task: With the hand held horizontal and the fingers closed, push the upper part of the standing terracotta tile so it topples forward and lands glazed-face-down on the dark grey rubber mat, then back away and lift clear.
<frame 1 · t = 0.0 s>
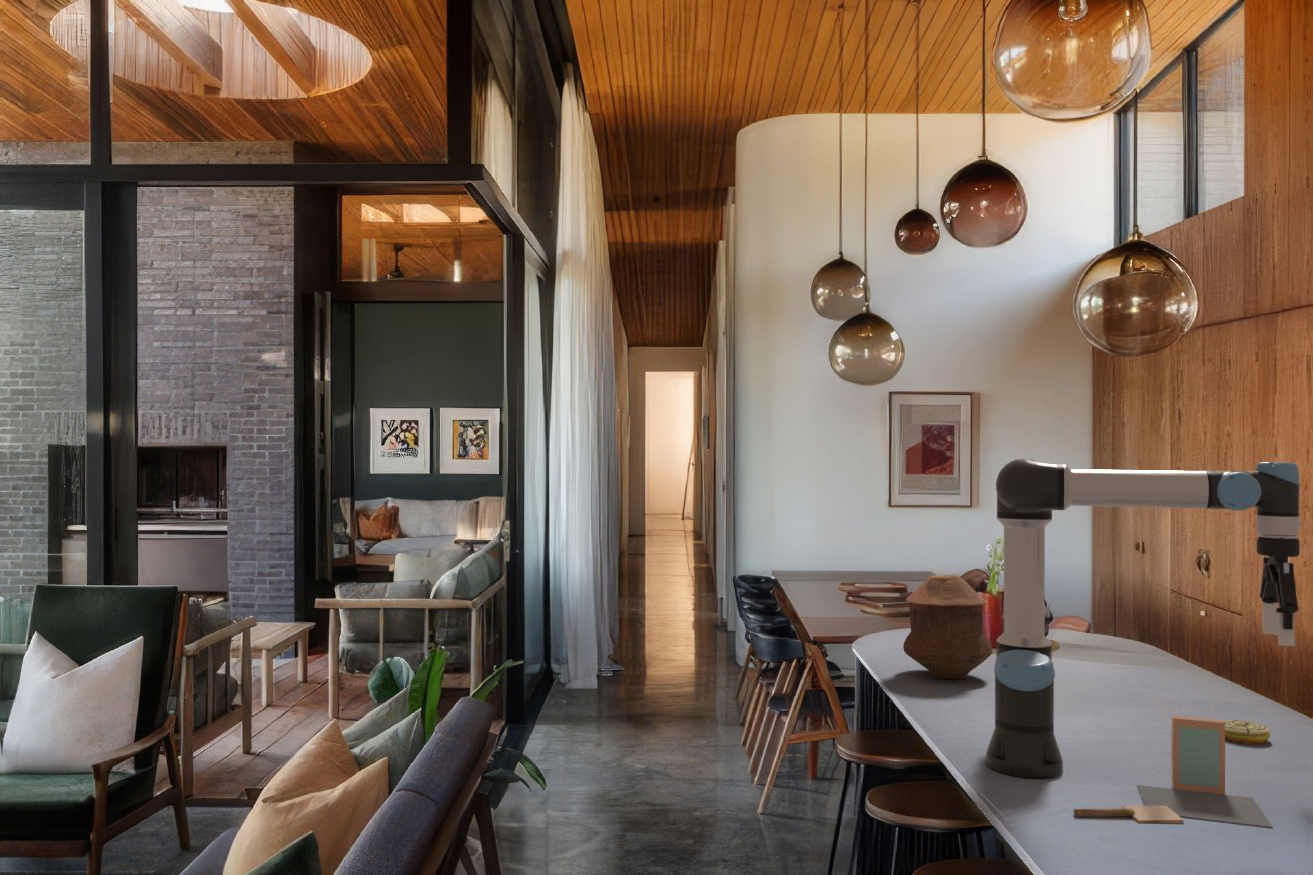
hand: (1278, 639, 204), 28 cm above the kitchen island, tool pointing down, fingers open, 13 cm apart
mat: (1200, 806, 185), on the kitchen island
wooden turner: (1130, 816, 180), on the kitchen island, touching mat
pottery vessel: (947, 676, 294), on the kitchen island
decorated donut: (1242, 740, 231), on the kitchen island
tile: (1197, 790, 194), on the kitchen island
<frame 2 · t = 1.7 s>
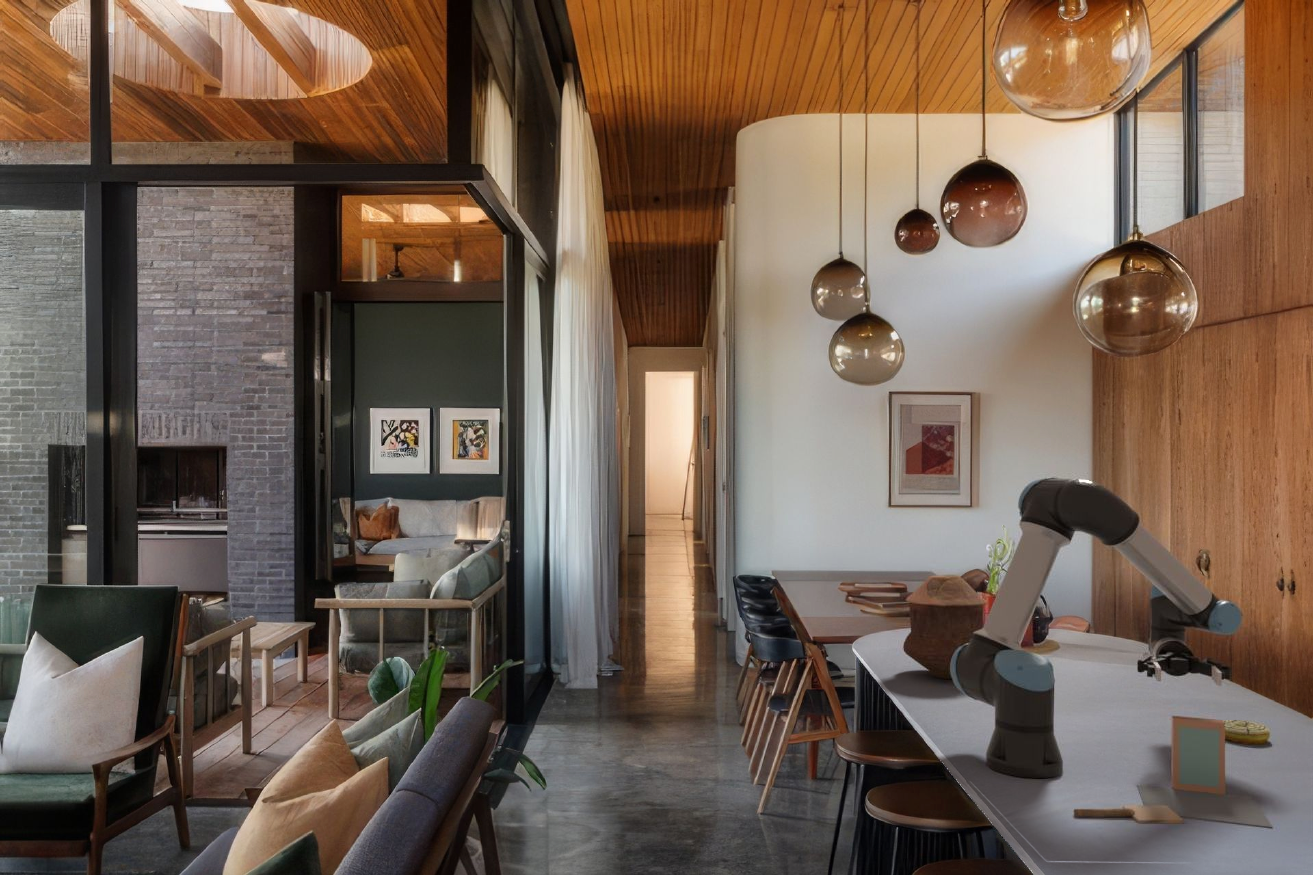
hand: (1189, 676, 205), 20 cm above the kitchen island, tool horizontal, fingers open, 10 cm apart
nothing on the kitchen island moved.
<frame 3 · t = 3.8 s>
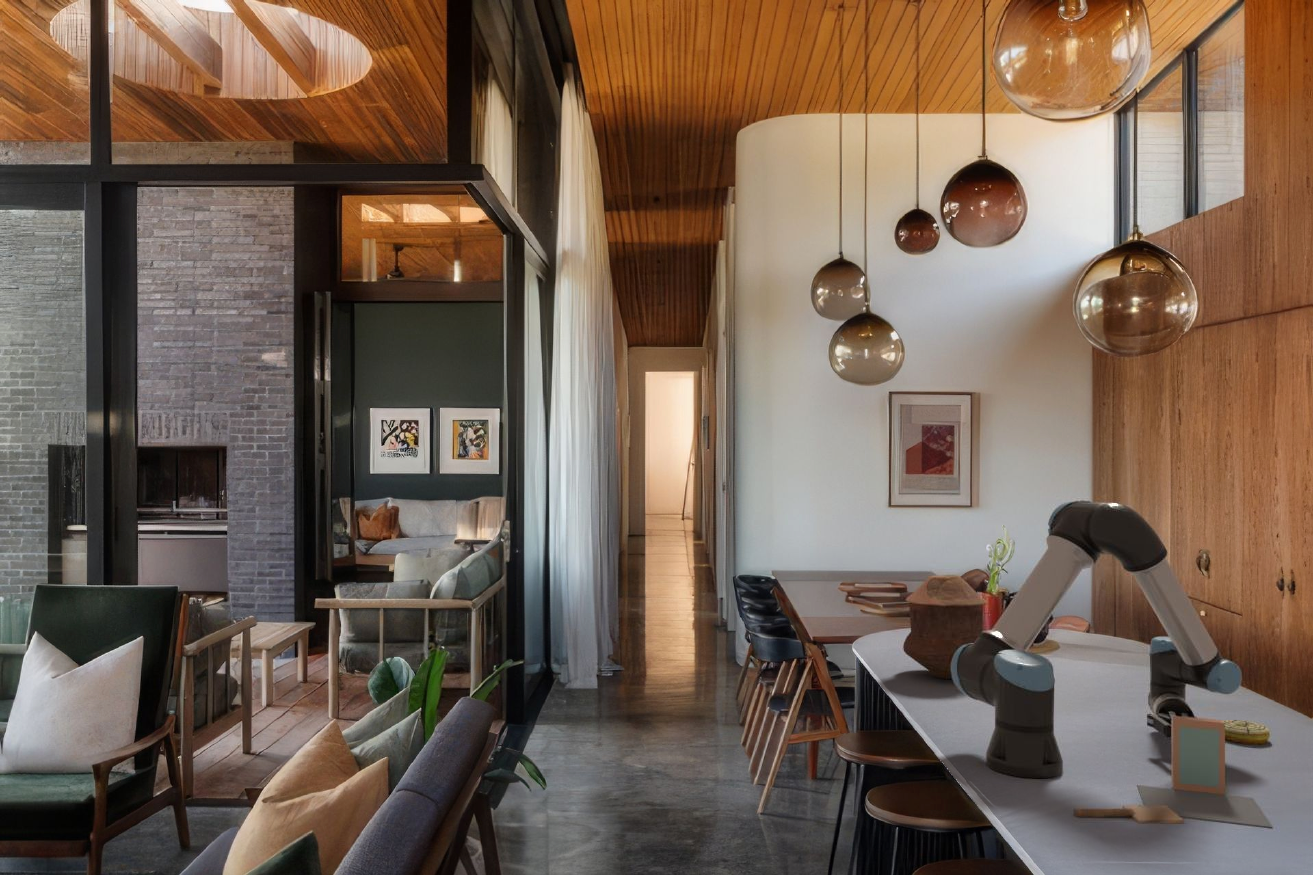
hand: (1190, 742, 203), 7 cm above the kitchen island, tool horizontal, fingers closed
nothing on the kitchen island moved.
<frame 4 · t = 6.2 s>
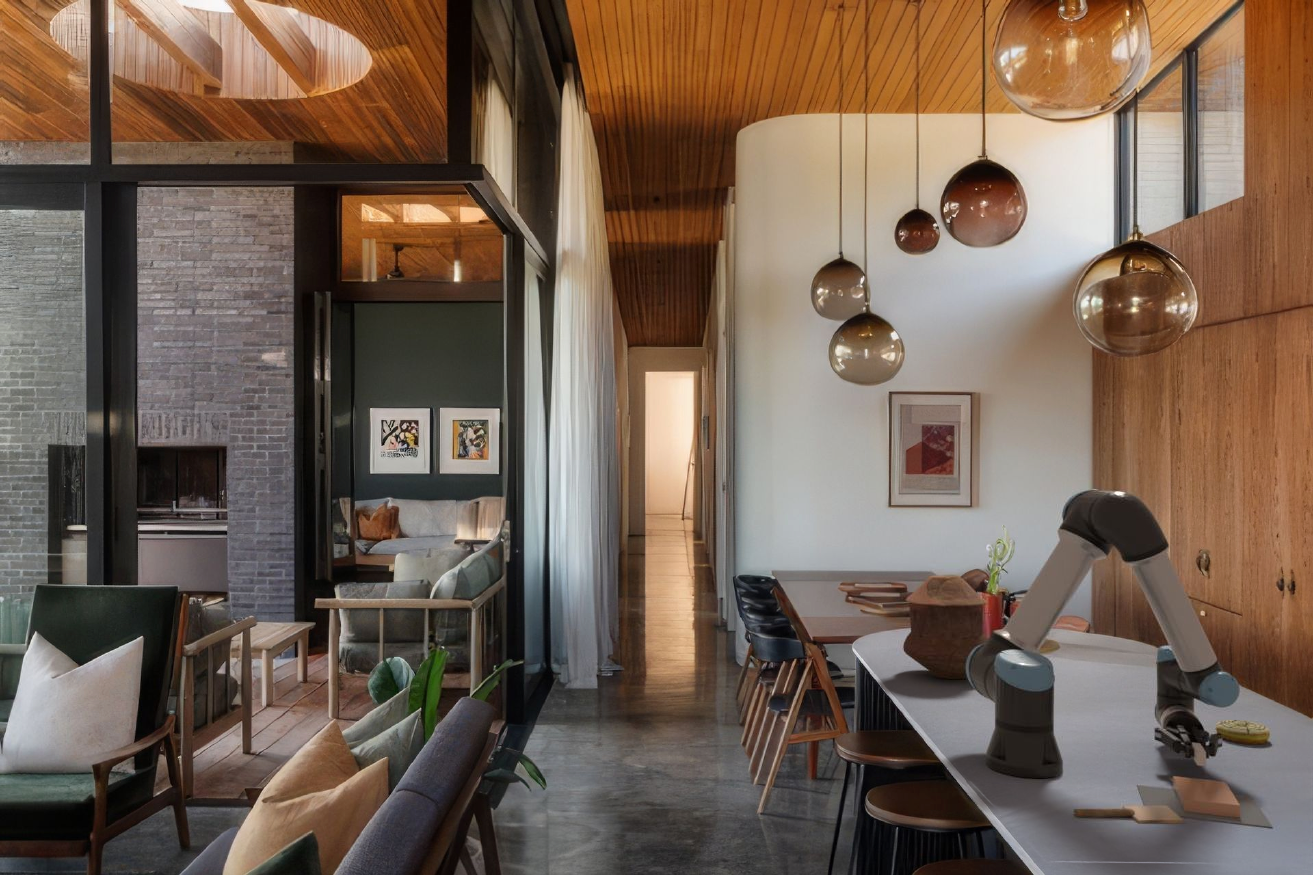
hand: (1201, 758, 192), 7 cm above the kitchen island, tool horizontal, fingers closed
tile: (1198, 784, 193), point 2 cm above the kitchen island, tilted 90°, touching mat
everything else where it was.
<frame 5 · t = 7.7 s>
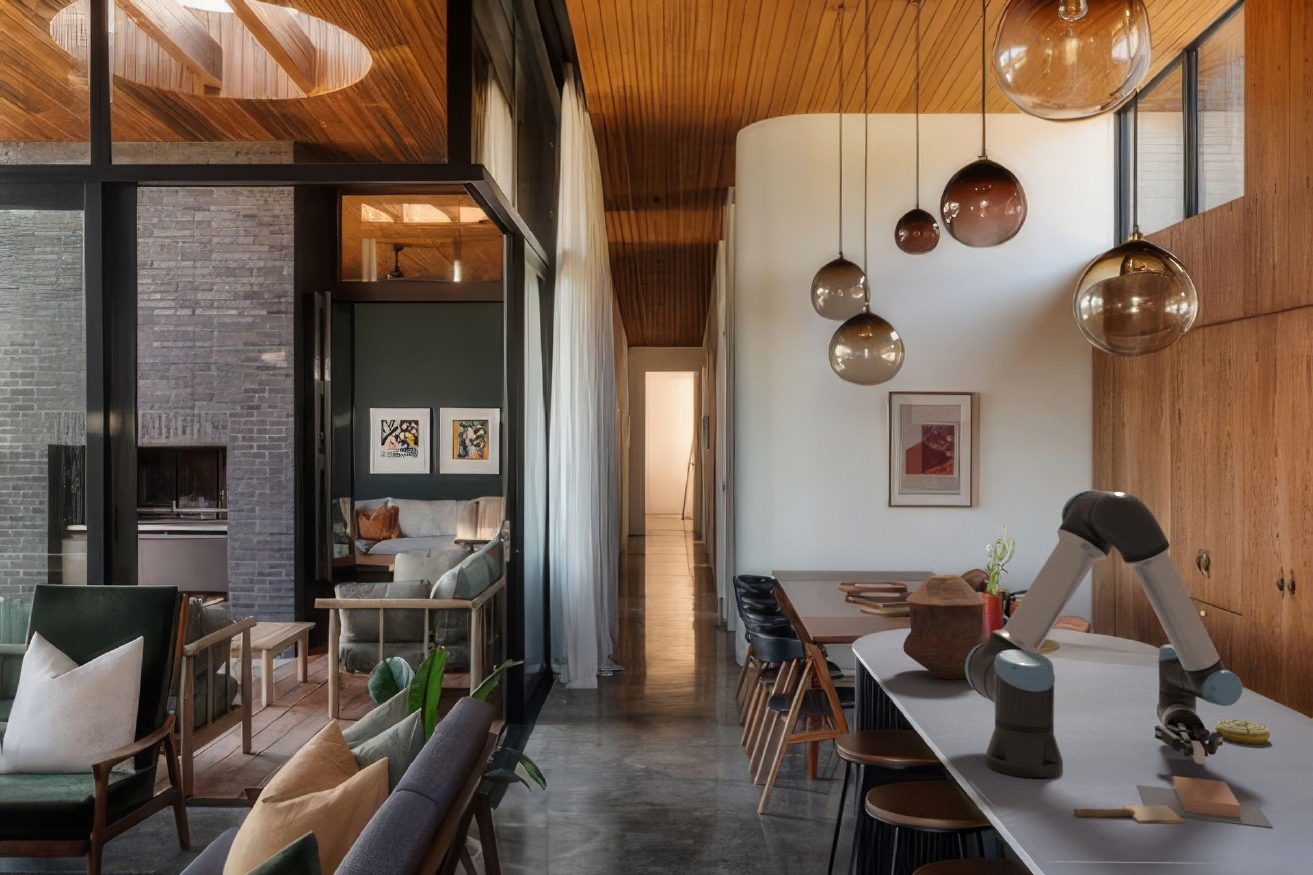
hand: (1200, 756, 193), 7 cm above the kitchen island, tool horizontal, fingers closed
nothing on the kitchen island moved.
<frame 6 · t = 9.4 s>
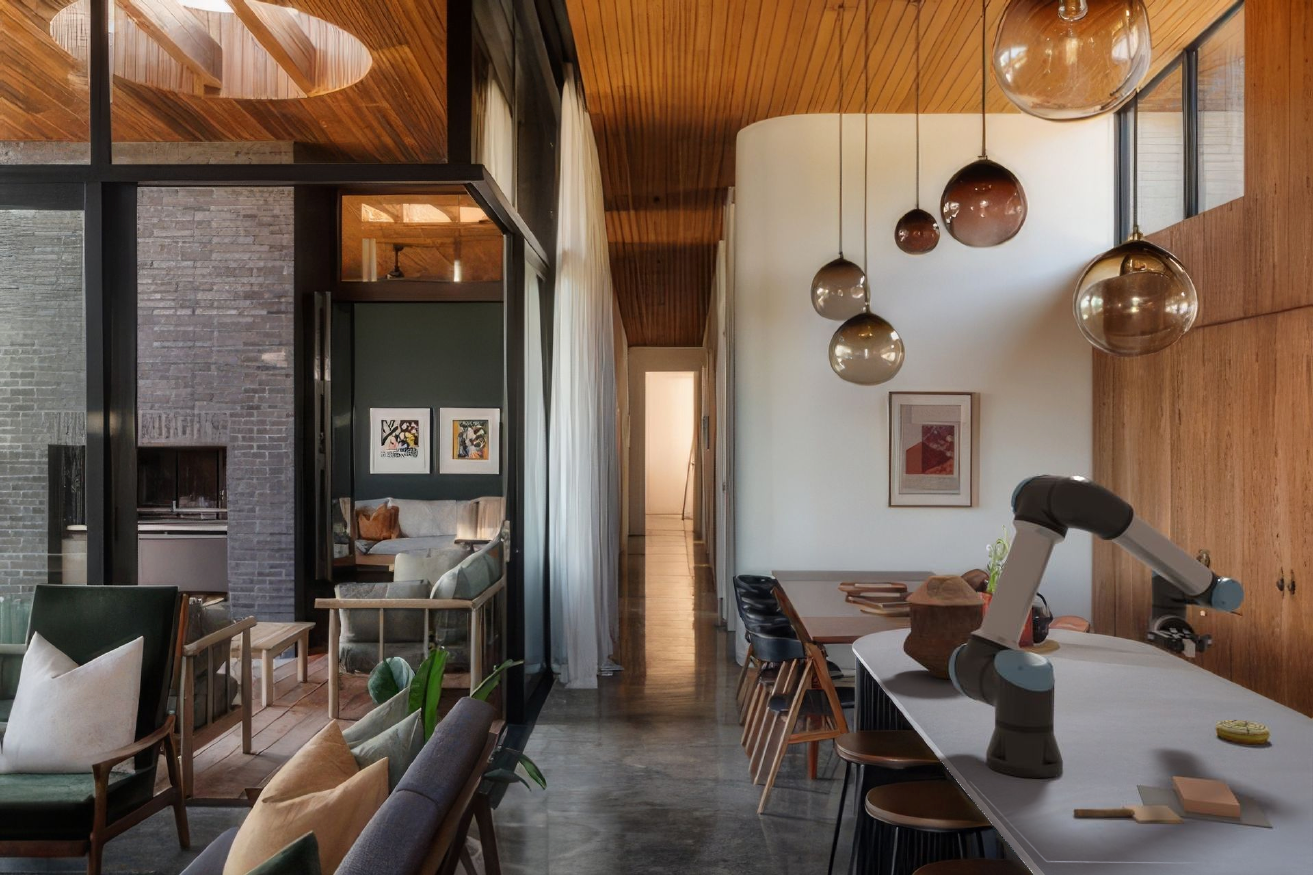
hand: (1191, 650, 205), 25 cm above the kitchen island, tool horizontal, fingers closed
nothing on the kitchen island moved.
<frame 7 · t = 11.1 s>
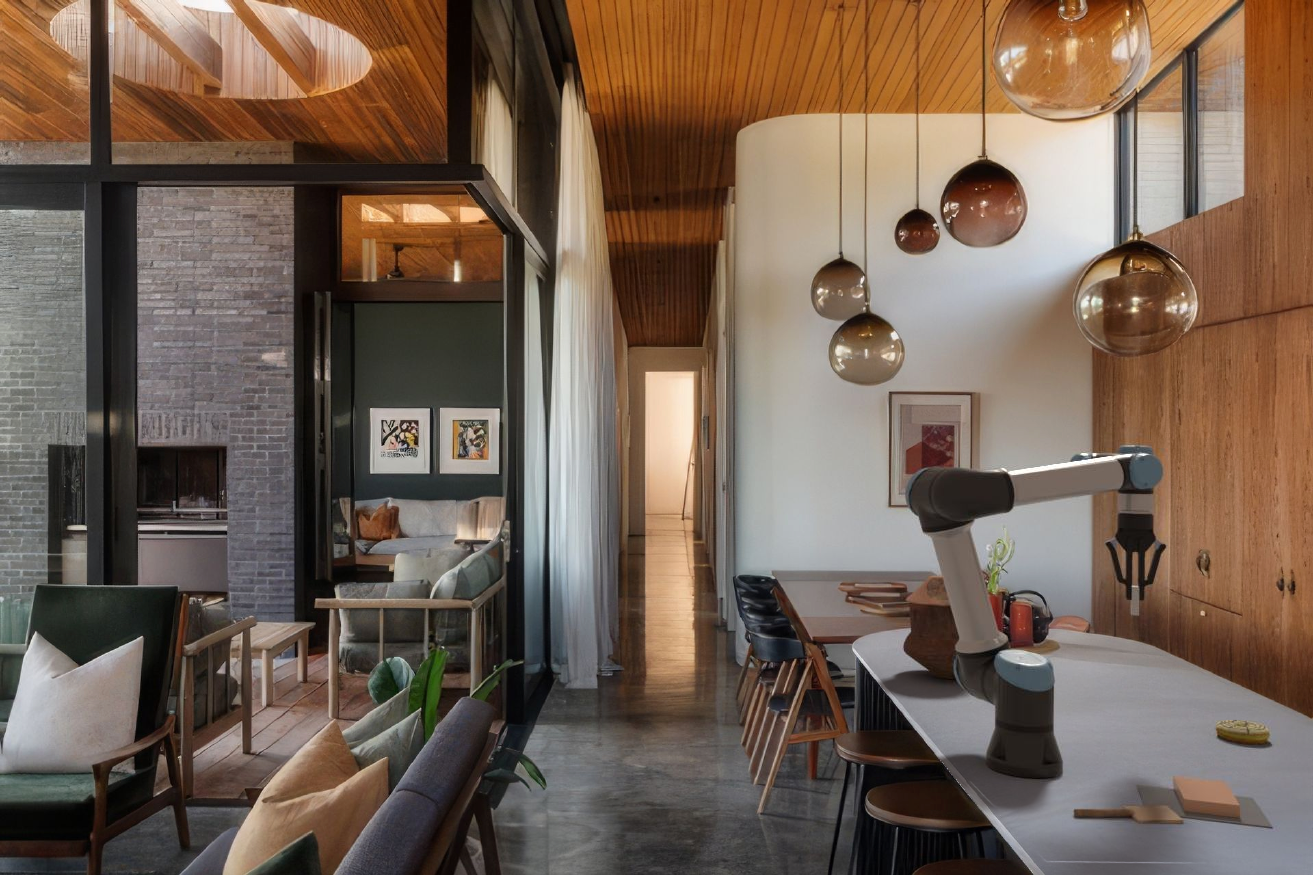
hand: (1134, 614, 229), 29 cm above the kitchen island, tool pointing down, fingers closed
nothing on the kitchen island moved.
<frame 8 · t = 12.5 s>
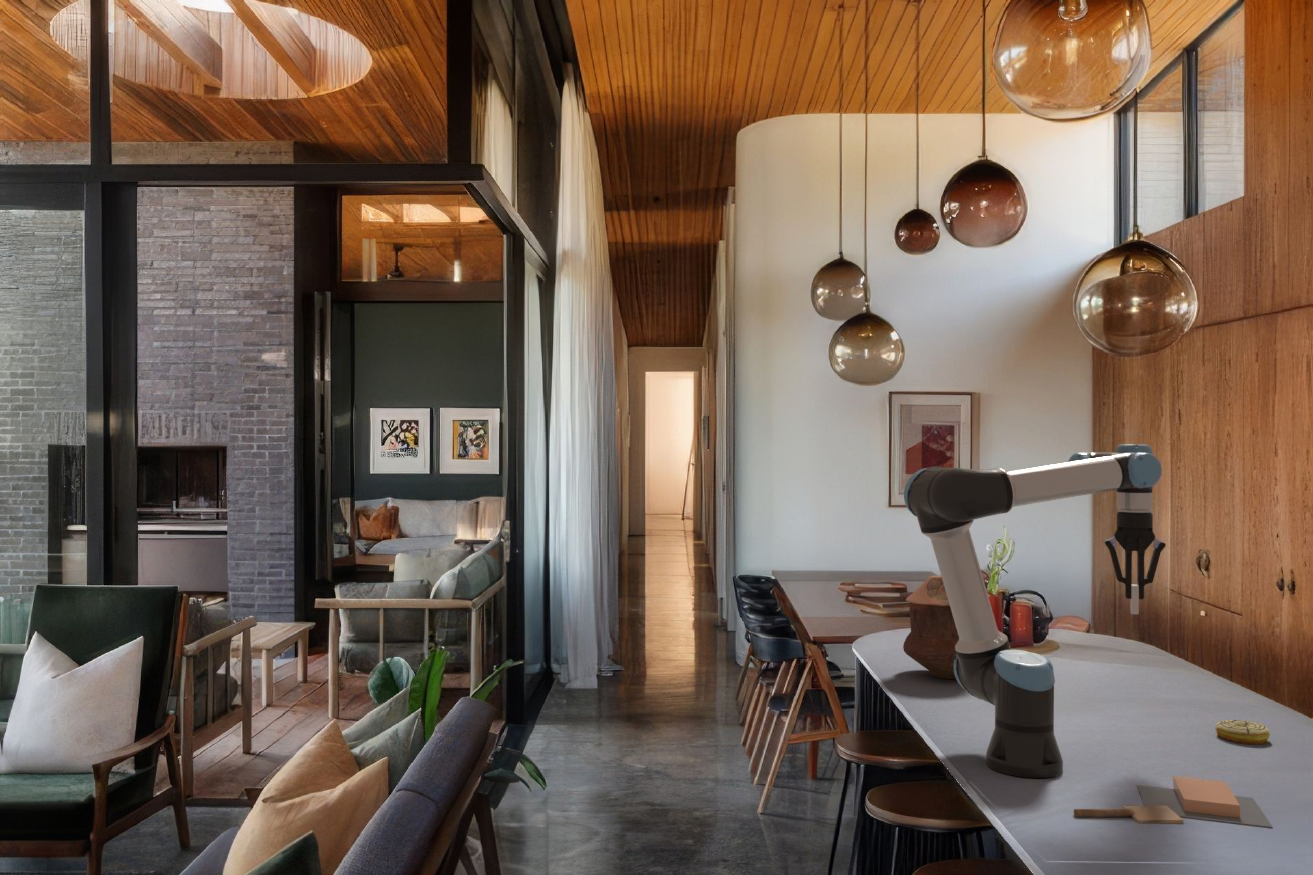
hand: (1134, 613, 229), 29 cm above the kitchen island, tool pointing down, fingers closed
nothing on the kitchen island moved.
at the end: tile tilted 90°; tile inside the target area (7.9 cm from its centre), point 1.5 cm above the kitchen island; the gripper is holding nothing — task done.
